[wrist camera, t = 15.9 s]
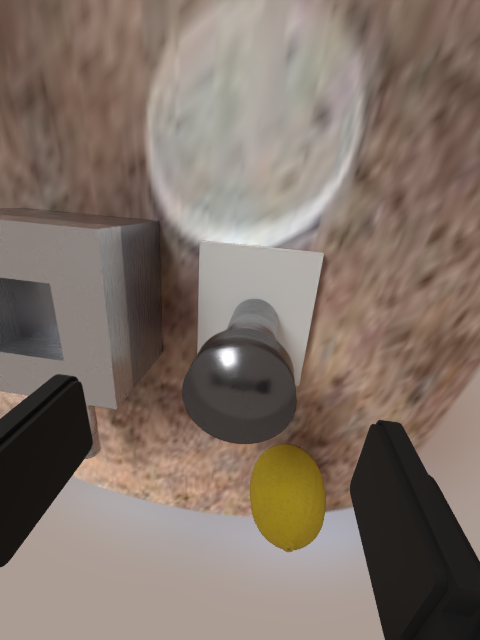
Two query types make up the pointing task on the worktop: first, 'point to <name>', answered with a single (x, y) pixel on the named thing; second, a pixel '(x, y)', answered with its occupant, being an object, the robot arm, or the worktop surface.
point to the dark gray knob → (242, 379)
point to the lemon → (287, 497)
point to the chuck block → (78, 303)
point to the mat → (259, 290)
